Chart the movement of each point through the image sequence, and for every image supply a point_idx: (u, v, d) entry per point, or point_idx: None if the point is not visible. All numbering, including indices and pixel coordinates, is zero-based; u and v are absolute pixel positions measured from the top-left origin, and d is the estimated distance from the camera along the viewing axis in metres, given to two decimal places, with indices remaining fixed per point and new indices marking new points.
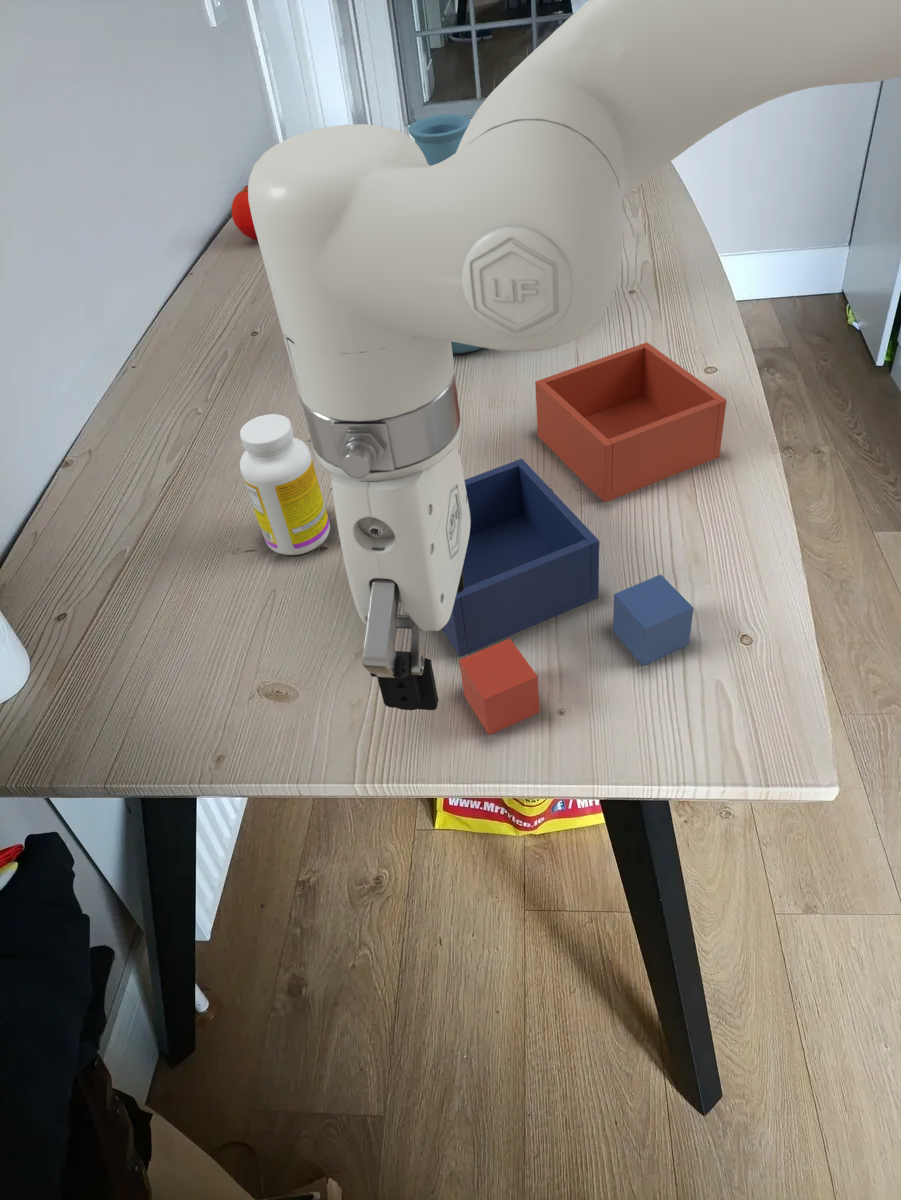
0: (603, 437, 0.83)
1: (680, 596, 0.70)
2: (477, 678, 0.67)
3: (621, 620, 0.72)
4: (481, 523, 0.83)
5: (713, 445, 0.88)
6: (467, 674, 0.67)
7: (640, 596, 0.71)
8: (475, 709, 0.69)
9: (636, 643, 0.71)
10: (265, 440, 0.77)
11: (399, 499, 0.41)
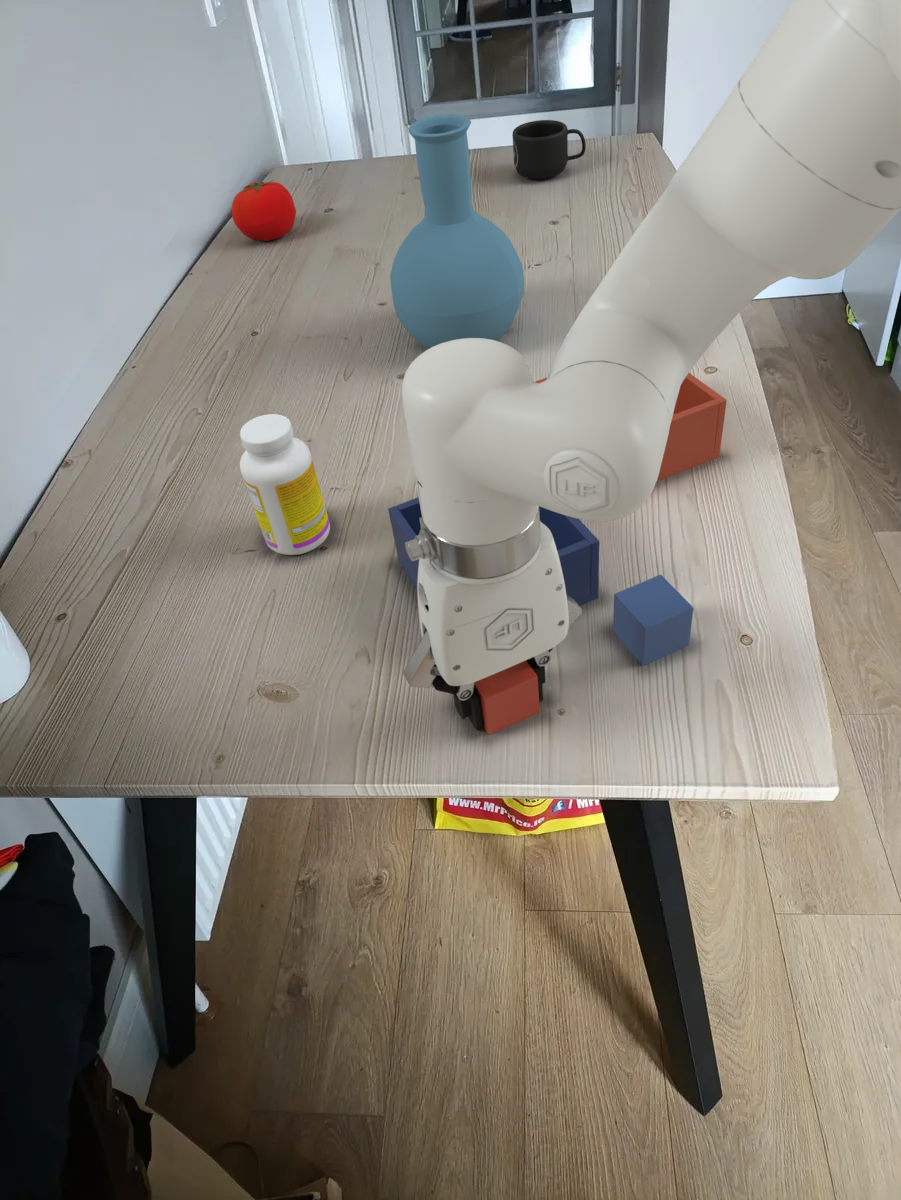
0: None
1: (680, 596, 0.70)
2: None
3: (621, 620, 0.72)
4: None
5: (713, 445, 0.88)
6: None
7: (640, 596, 0.71)
8: None
9: (636, 643, 0.71)
10: (265, 440, 0.77)
11: (433, 588, 0.57)
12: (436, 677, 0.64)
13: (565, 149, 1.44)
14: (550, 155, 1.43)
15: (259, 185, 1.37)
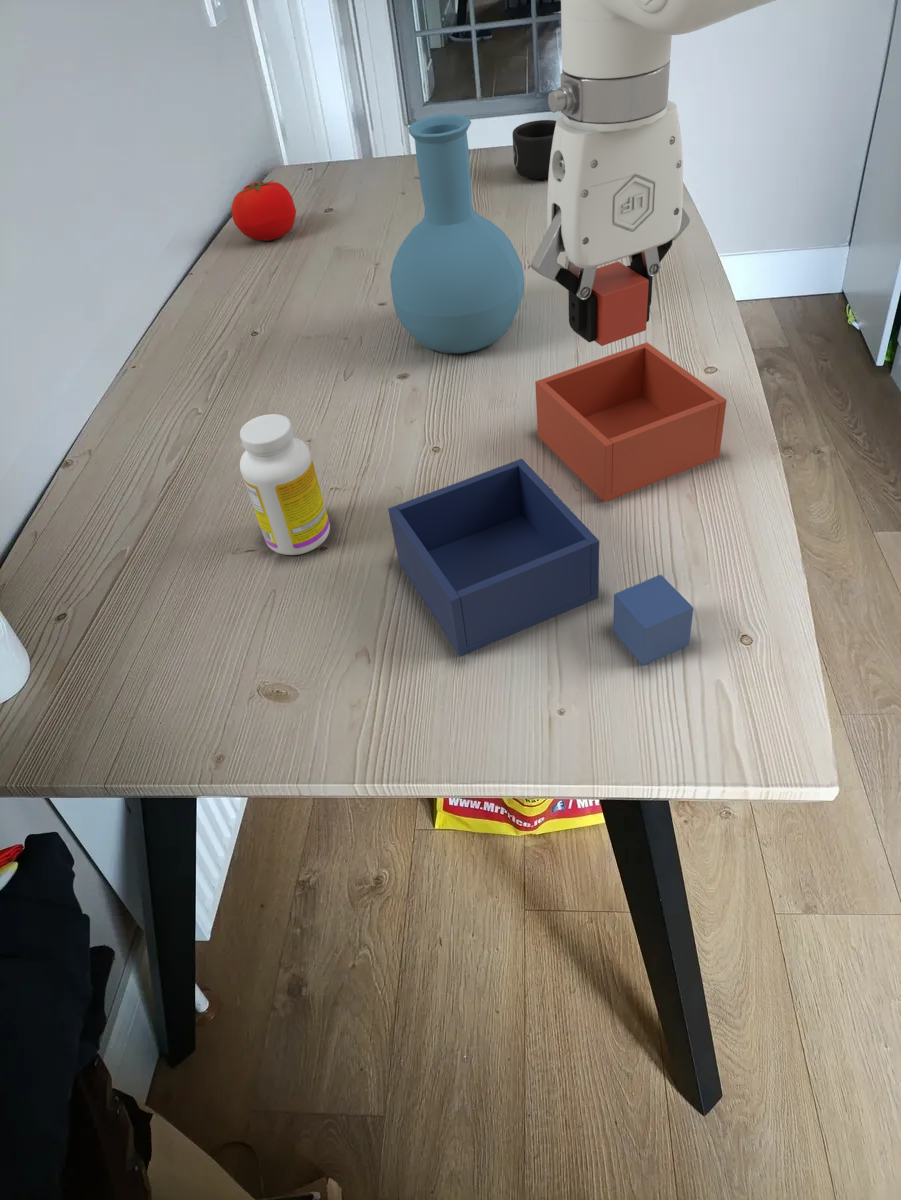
0: (603, 437, 0.83)
1: (680, 596, 0.70)
2: None
3: (621, 620, 0.72)
4: (481, 523, 0.83)
5: (713, 445, 0.88)
6: None
7: (640, 596, 0.71)
8: None
9: (636, 643, 0.71)
10: (265, 440, 0.77)
11: (573, 141, 0.63)
12: (560, 269, 0.70)
13: None
14: (550, 155, 1.43)
15: (259, 185, 1.37)
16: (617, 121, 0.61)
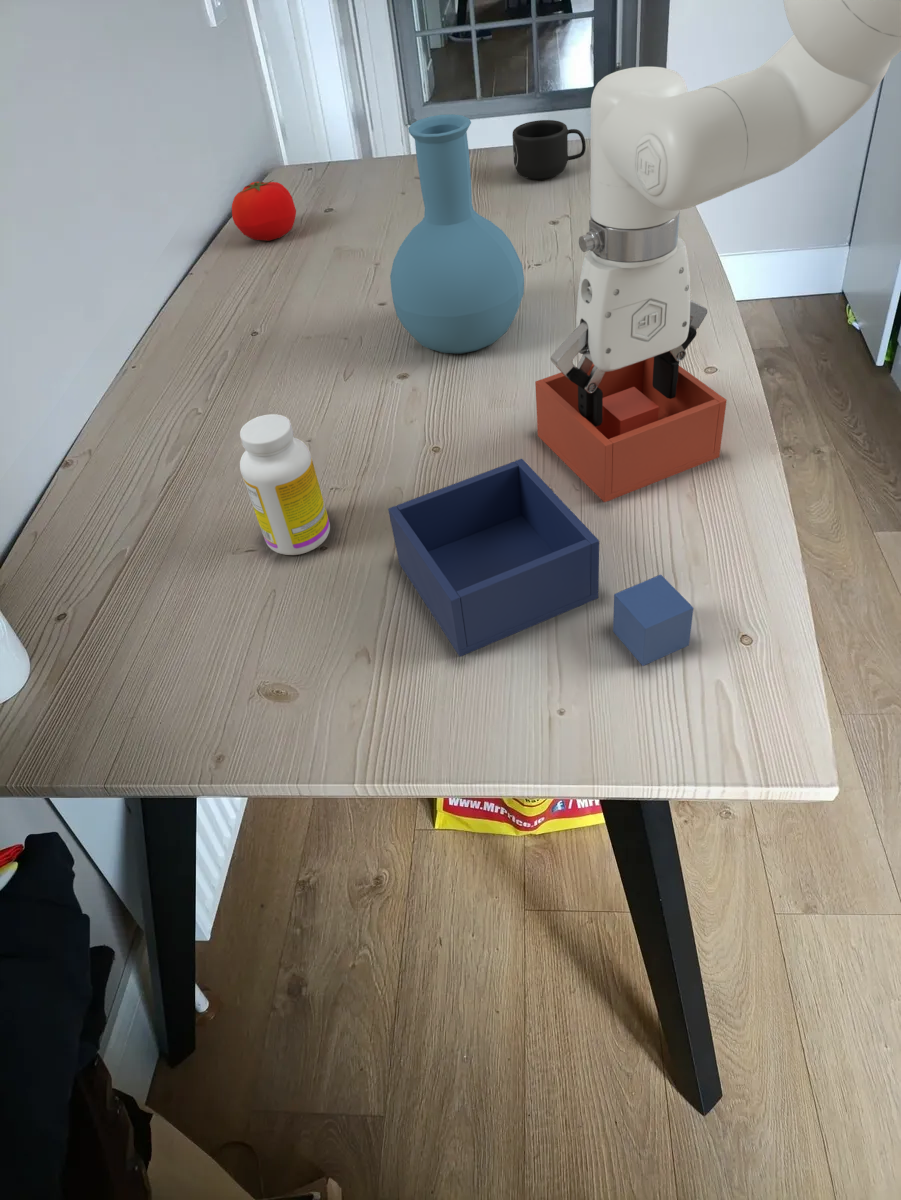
0: (603, 437, 0.83)
1: (680, 596, 0.70)
2: (612, 409, 0.88)
3: (621, 620, 0.72)
4: (481, 523, 0.83)
5: (713, 445, 0.88)
6: (604, 408, 0.89)
7: (640, 596, 0.71)
8: None
9: (636, 643, 0.71)
10: (265, 440, 0.77)
11: (599, 275, 0.76)
12: (571, 369, 0.82)
13: (565, 149, 1.44)
14: (550, 155, 1.43)
15: (259, 185, 1.37)
16: (636, 260, 0.75)
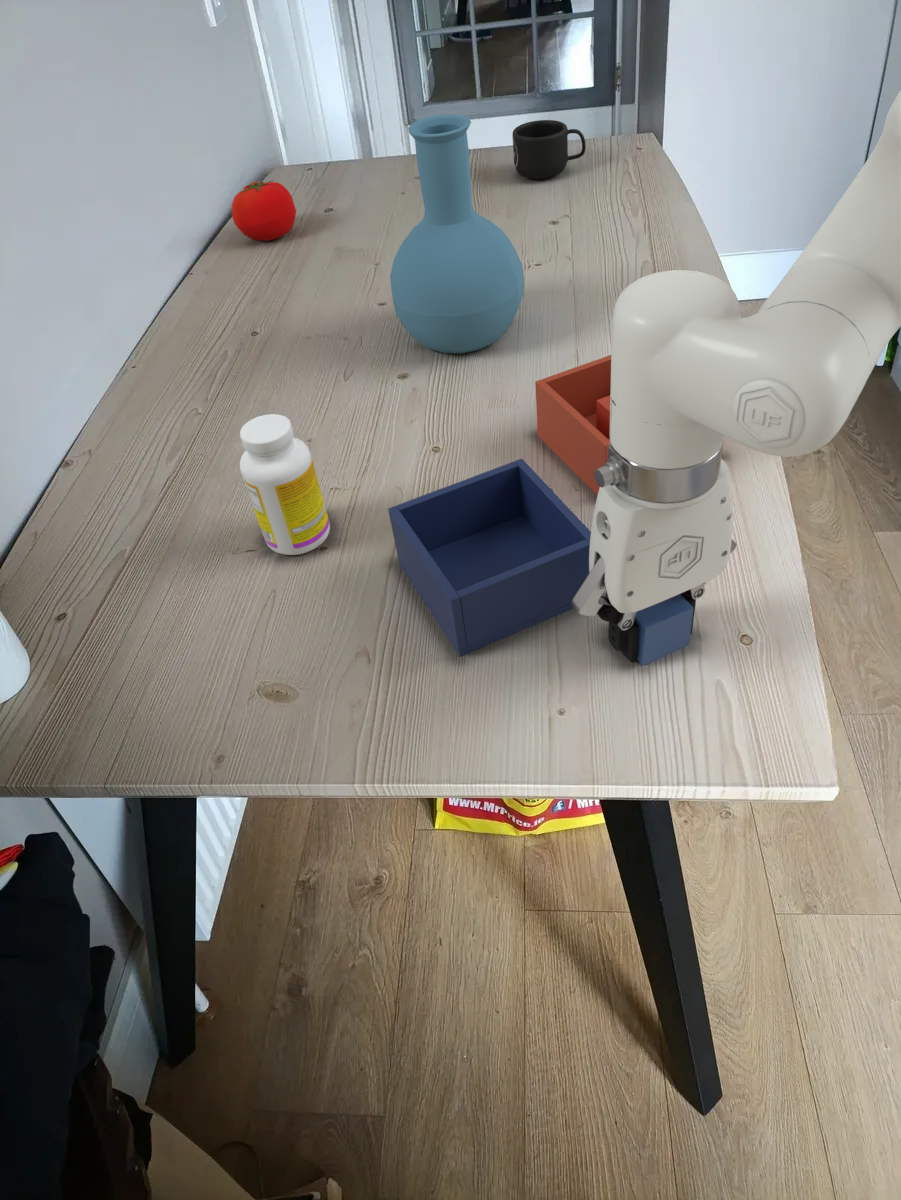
0: (603, 437, 0.83)
1: (680, 596, 0.70)
2: None
3: None
4: (481, 523, 0.83)
5: None
6: (604, 408, 0.89)
7: None
8: None
9: None
10: (265, 440, 0.77)
11: (620, 514, 0.60)
12: (602, 606, 0.67)
13: (565, 149, 1.44)
14: (550, 155, 1.43)
15: (259, 185, 1.37)
16: (667, 501, 0.58)
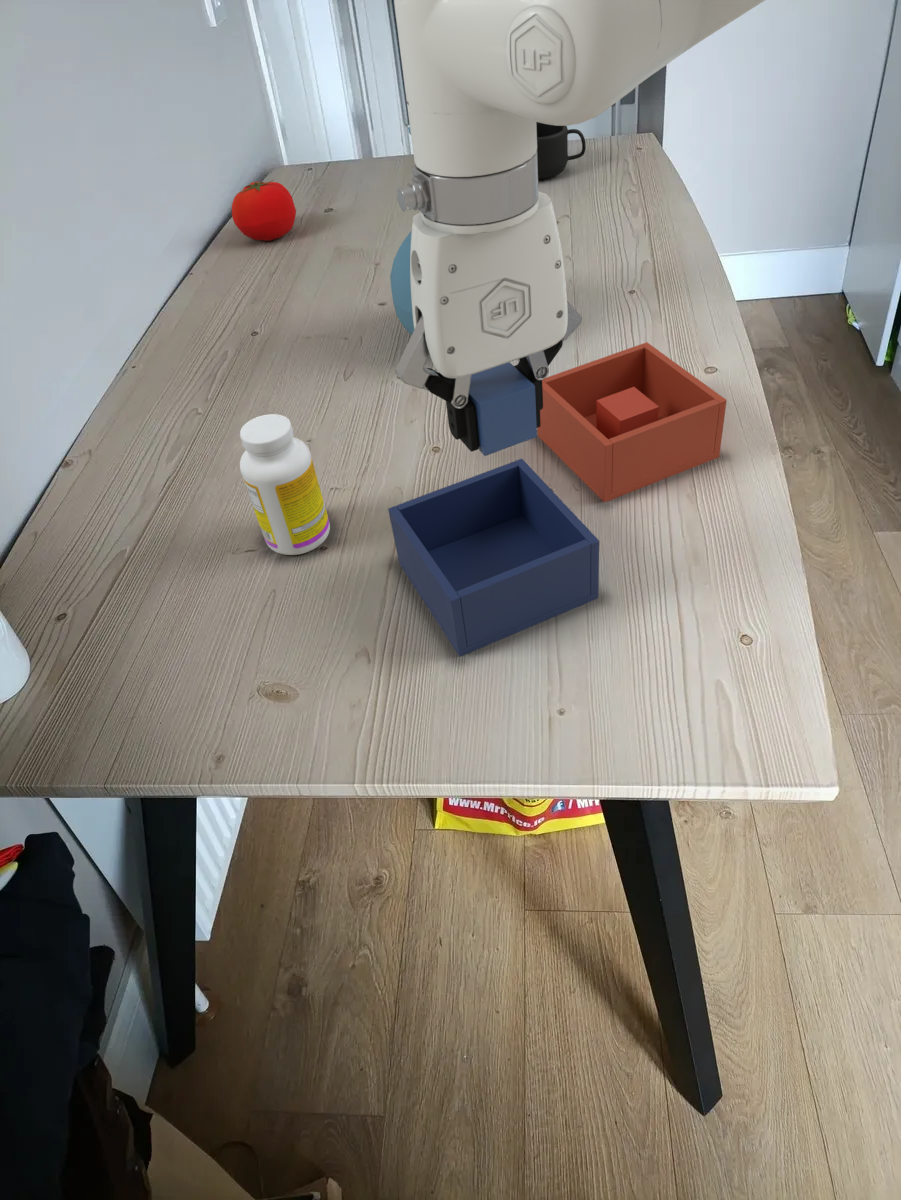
0: (603, 437, 0.83)
1: (523, 376, 0.65)
2: (612, 409, 0.88)
3: None
4: (481, 523, 0.83)
5: (713, 445, 0.88)
6: (604, 408, 0.89)
7: (481, 378, 0.65)
8: None
9: None
10: (265, 440, 0.77)
11: (426, 244, 0.54)
12: (430, 376, 0.61)
13: (565, 149, 1.44)
14: (550, 155, 1.43)
15: (259, 185, 1.37)
16: (474, 223, 0.53)
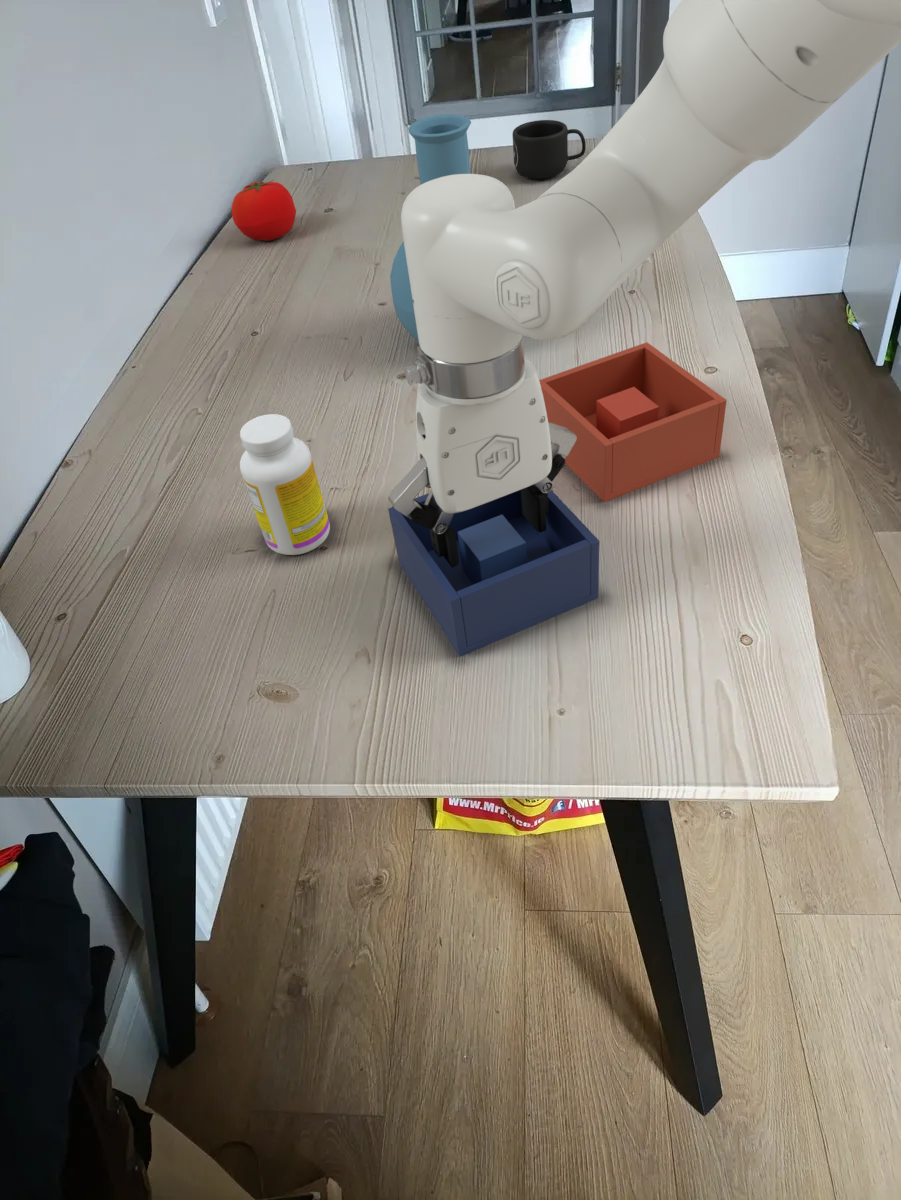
0: (603, 437, 0.83)
1: (516, 533, 0.77)
2: (612, 409, 0.88)
3: (464, 556, 0.78)
4: None
5: (713, 445, 0.88)
6: (604, 408, 0.89)
7: (480, 533, 0.77)
8: None
9: (476, 576, 0.77)
10: (265, 440, 0.77)
11: (430, 411, 0.64)
12: (413, 509, 0.70)
13: (565, 149, 1.44)
14: (550, 155, 1.43)
15: (259, 185, 1.37)
16: (470, 397, 0.62)
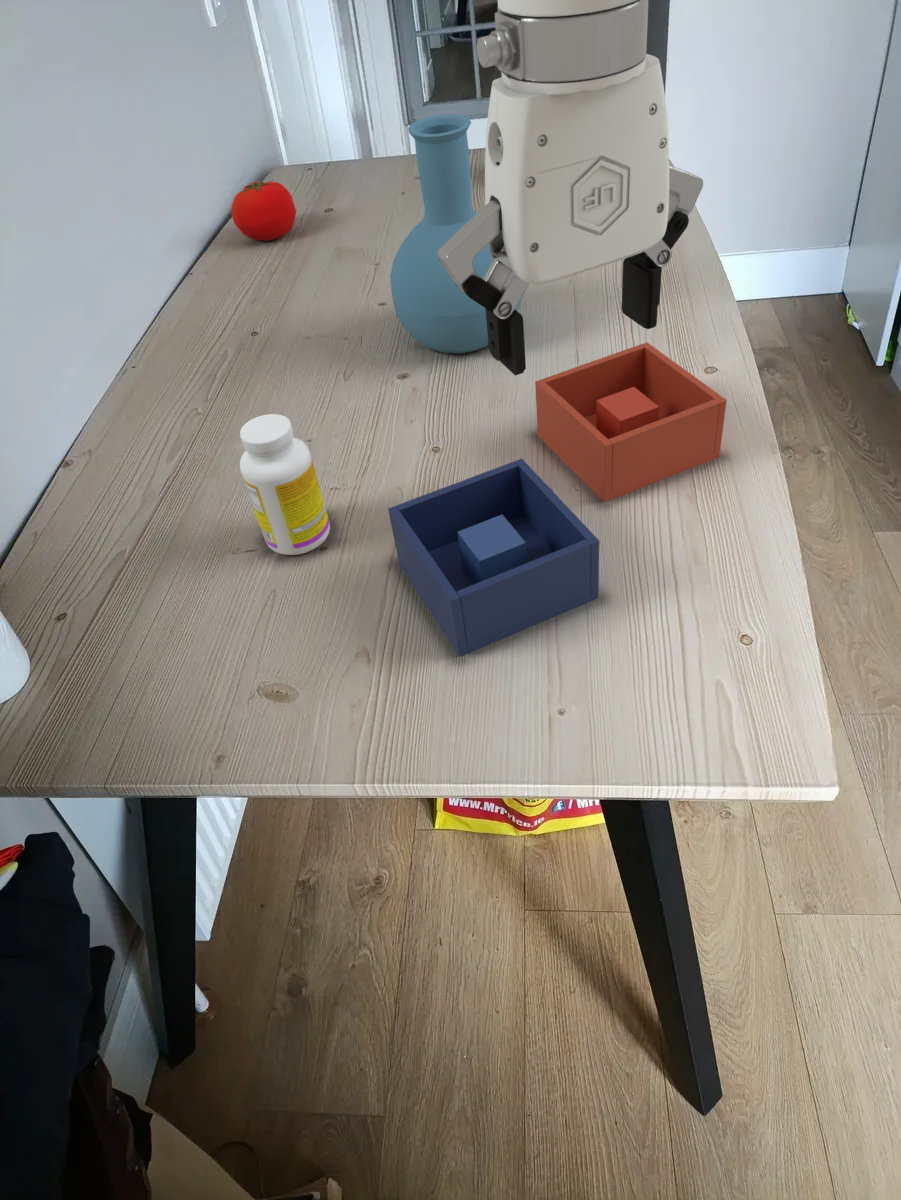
0: (603, 437, 0.83)
1: (516, 533, 0.77)
2: (612, 409, 0.88)
3: (464, 556, 0.78)
4: None
5: (713, 445, 0.88)
6: (604, 408, 0.89)
7: (480, 533, 0.77)
8: None
9: (476, 576, 0.77)
10: (265, 440, 0.77)
11: (512, 109, 0.45)
12: (468, 277, 0.51)
13: None
14: None
15: (259, 185, 1.37)
16: (573, 79, 0.43)
